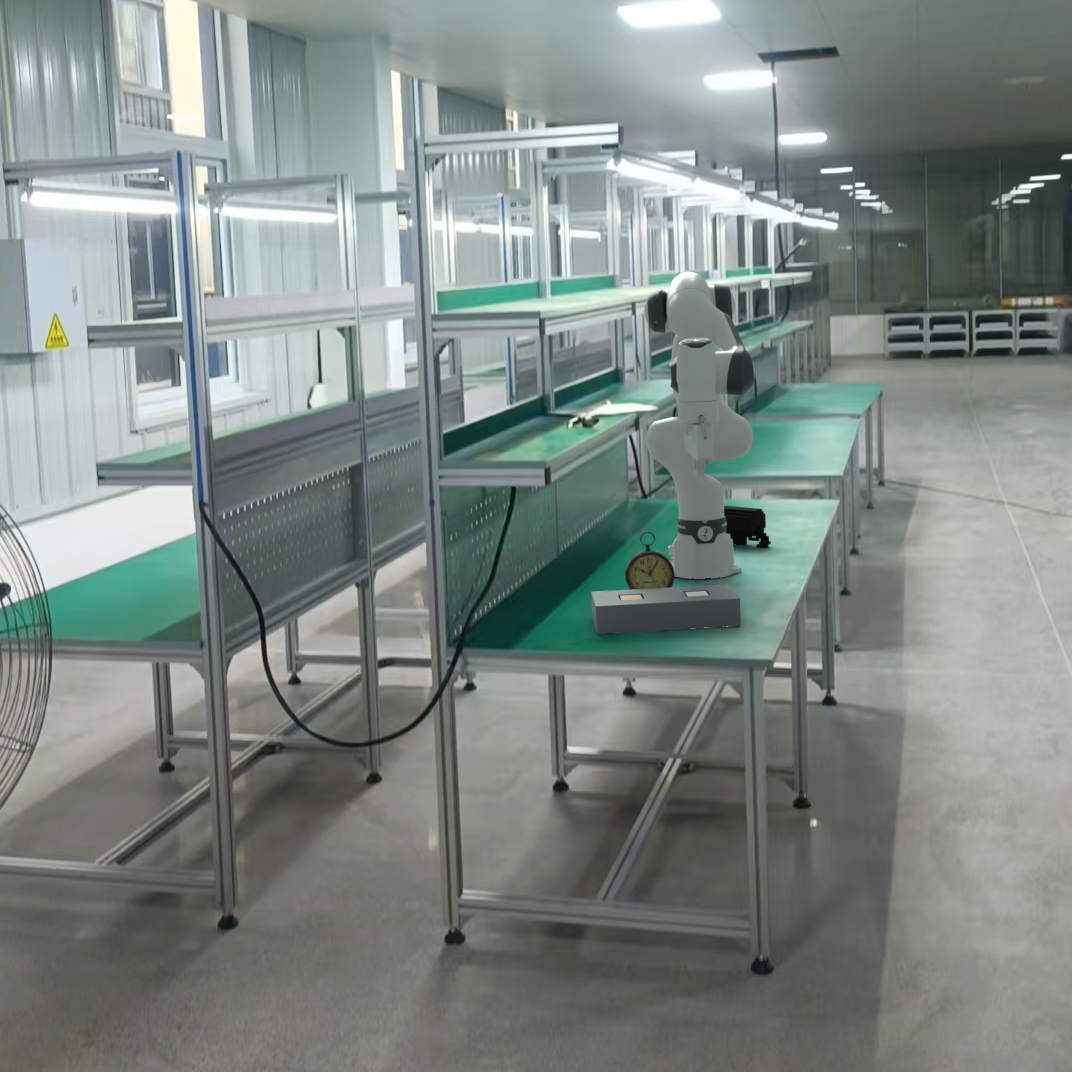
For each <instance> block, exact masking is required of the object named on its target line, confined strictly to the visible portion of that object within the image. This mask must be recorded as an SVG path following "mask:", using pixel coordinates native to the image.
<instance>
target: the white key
mask: <svg viewBox="0 0 1072 1072" xmlns="http://www.w3.org/2000/svg"><path fill="white" fill-rule="evenodd" d="M685 595H686V597H688V596H707V595H708V594H707V592H706V591H697V592H685Z"/></svg>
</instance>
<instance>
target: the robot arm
mask: <svg viewBox="0 0 1072 1072" xmlns="http://www.w3.org/2000/svg"><path fill="white" fill-rule="evenodd" d="M644 304H645V305H644V311H643V313H644V319H645V320H646V323H647V324H648V327H649V328H650V330H652V331H653V333H654V332H655V333H660V334H661V333H662V334H663V333H664V334H665V333H666V332H667V333H670V332H671V333H674V337H673V340H672V347H671V359H670V362H669V369H670V385H669V387H670V388H672V395H673V397H674V399H675V402H676V403H677V404H676V405H677V407H676V408H677V416H671V417H667V418H663V419H659V420H655V421H653V422H652V423H651V424H650V426H649V427H648V430H647V431H646V435H645V445H646V448H647V451H648V453H649V455H650V456H651V458H653V459H654V460H655V461H656V462H658V463H659V464H661V465H662V467H664V468H665V469H666V470H667V471H668V473H669V475H670V476H671V478H672V480H673V482H674V484H675V489H676V493H677V494H676V495H677V503H678V506H677V508H678V517H677V520H676V521H677V522H676V530H677V533H678V534H677V536H676V538H675V539H673V540H674V541H673V542H672V544H670V545H669V546H668V555H669V556H671V557H670V558H669V561H670V562H671V564H672V566H673V568H674V578H676V577H677V578H681V579H690V580H706V579H705V578H711V579H718V578H719V577H720V578H724V577H729V576H731V575H732V574H737V573H738V574H739V573H742V567H741V566H739V565H737V564H735V552H734V545H733V540H732V539H731V538H730V535H729V534H726V532H725V531H726V530H727V529H726V525H727V521H726V517H725V516H724V506H725V496H724V495H725V494H724V492H725V491H724V487H723V486H724V485H723V484H722V483H721V481H719V480H718V479H716V478H715V477H714V476H711V475H709V474H706V466H707V462H712V461H713V462H714V461H728V460H732V459H737V458H741V457H744V456H746V455H747V454H748V453H749V451H751V448H752V445H753V441H754V432H753V428H752V426H751V424H750V423H749V421H748V420H747V419H746V418H745V417H744V416H742V415H740V414H738V413H737V412H735V410H733V409H732V408H731V407H730V406H729V405H728V404H727V402H726V401H725V400H724V397H722V395H728V396H732V395H733V396H743V395H744V394H745V393H747V392H748V391H749V390H750V389H751V388H752V387H753V385H754V382H755V377H756V368H755V363H754V361H753V358H752V356H751V354H750V353H749V352H748V350H747V349H746V347H745V345H744V343H743V341H742V338H741V335H740V333H739V332H738V329H737V327H736V326H735V323H734V321H733V316H734V314H735V311H736V302H735V297H734V295H733V293H732V291H731V287H729V286H728V285H726V284H722V283H714V284H708V283H707V281H706V280H705V278H704V277H703V276H702V275H701V274H700V273H696V272H692V271H684V272H682V273H680V274H677V276H675V277H674V278H673V279H672V280H671V282H670V285H669V288H667V289H666V288H665V289H662V288H660V289H658V290H654V291H652V292H650V294H649V295H648V296H647V297H646V301H645V303H644ZM715 346H717V347H720V348H721V350H716V348H715ZM692 578H693V579H692Z"/></svg>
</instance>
